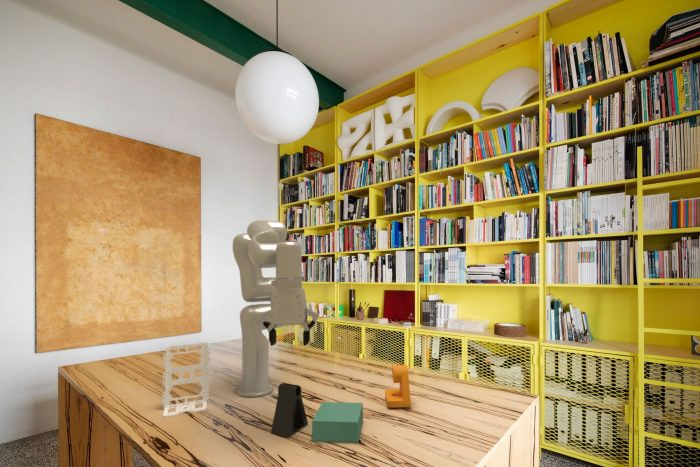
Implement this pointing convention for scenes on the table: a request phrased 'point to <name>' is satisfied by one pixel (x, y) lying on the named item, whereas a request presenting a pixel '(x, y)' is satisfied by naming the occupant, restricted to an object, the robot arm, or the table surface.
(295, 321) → the robot arm
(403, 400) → the bracket
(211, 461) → the table surface
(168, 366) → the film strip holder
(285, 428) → the phone stand
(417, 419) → the table surface
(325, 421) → the green block
